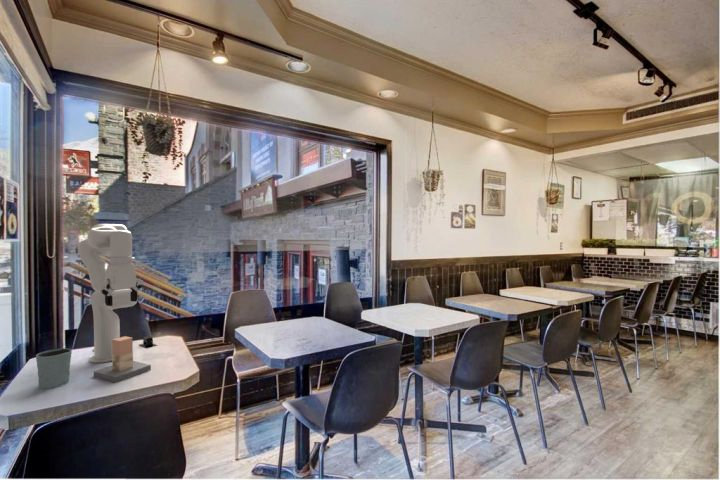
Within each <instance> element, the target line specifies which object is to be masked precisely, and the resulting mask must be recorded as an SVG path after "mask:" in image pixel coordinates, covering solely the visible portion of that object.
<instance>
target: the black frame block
mask: <svg viewBox="0 0 720 480" xmlns="http://www.w3.org/2000/svg"><path fill="white" fill-rule="evenodd" d="M142 342H143V343H140V344H139V346H140V347H142V348H144V349H150V348H153V347H157V346H158V345H157V344H156V343H154V339H153V336H149V335H148V336H143V339H142Z"/></svg>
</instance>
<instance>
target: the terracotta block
mask: <svg viewBox="0 0 720 480" xmlns="http://www.w3.org/2000/svg"><path fill="white" fill-rule="evenodd" d="M132 352H133V353H134V351H133V337H132V336H131V337H130V336H126V335H125V336H120V338H116V339H112V354H113V355H117V356H122V355H125V354H129V353H132Z"/></svg>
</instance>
